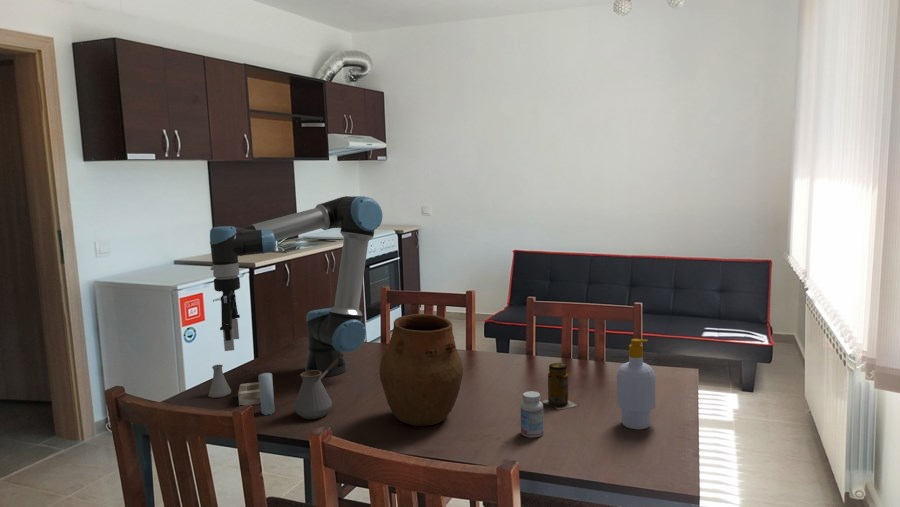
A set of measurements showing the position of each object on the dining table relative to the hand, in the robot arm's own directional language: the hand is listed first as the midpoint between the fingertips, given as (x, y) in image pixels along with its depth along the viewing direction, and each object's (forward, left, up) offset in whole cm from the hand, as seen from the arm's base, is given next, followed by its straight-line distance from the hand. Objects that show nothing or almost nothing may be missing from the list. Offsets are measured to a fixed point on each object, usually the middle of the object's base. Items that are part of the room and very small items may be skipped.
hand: (232, 344), depth 201 cm
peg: (-9, +7, -21) cm, 24 cm away
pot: (-53, +29, -21) cm, 64 cm away
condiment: (-95, +31, -21) cm, 103 cm away
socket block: (-5, -7, -21) cm, 22 cm away
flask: (+7, -16, -21) cm, 27 cm away
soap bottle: (-108, +53, -21) cm, 122 cm away
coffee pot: (-26, +10, -21) cm, 35 cm away
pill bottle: (-79, +49, -21) cm, 96 cm away
